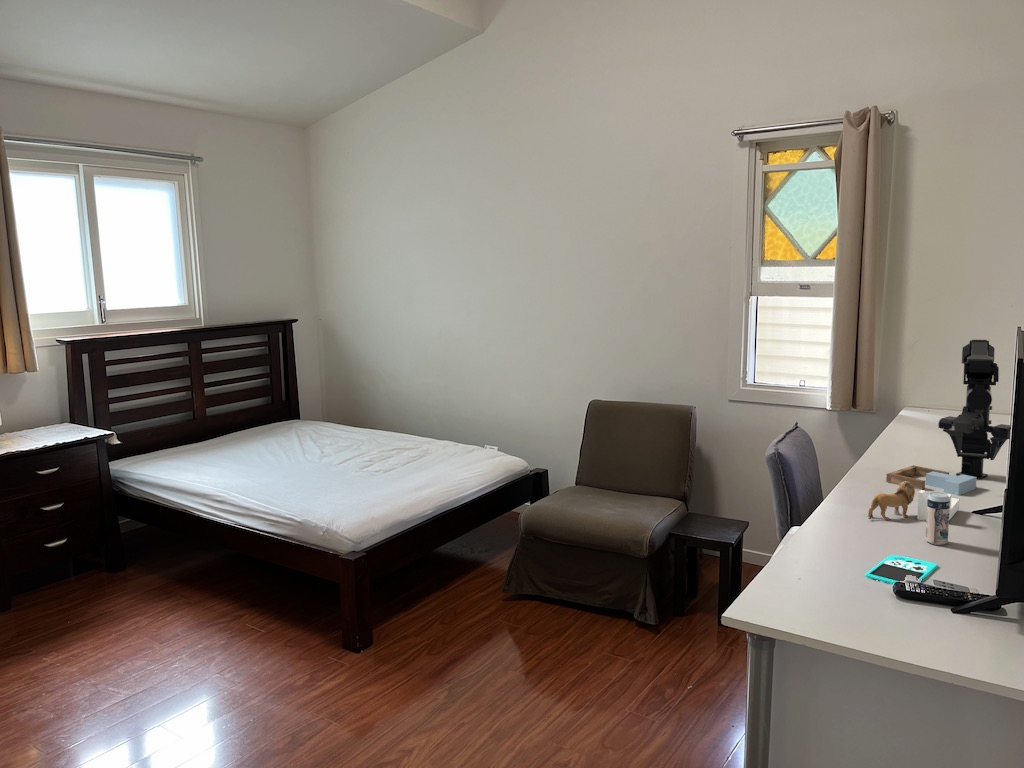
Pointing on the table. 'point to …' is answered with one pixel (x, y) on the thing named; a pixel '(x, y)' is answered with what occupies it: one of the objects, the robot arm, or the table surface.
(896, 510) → the lion figurine
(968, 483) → the t block
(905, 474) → the pocket
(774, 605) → the table surface
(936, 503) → the printed cylindrical canister
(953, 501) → the bracket
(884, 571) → the handheld game console
